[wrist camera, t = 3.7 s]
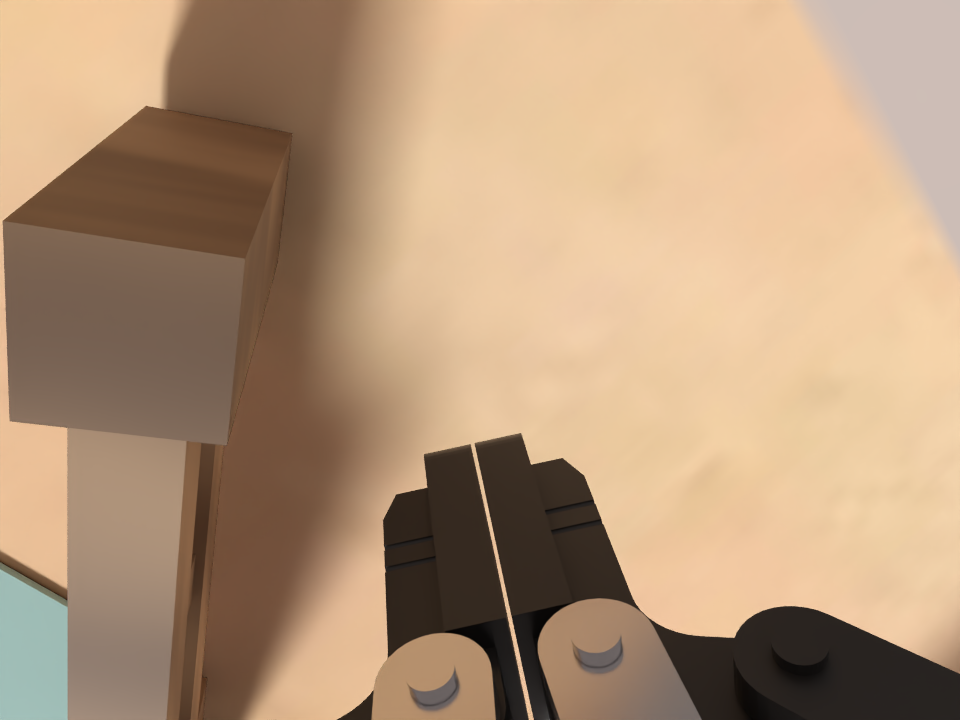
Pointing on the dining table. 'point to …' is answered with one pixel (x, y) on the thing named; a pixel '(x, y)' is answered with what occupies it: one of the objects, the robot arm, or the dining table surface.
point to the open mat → (32, 650)
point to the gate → (143, 381)
